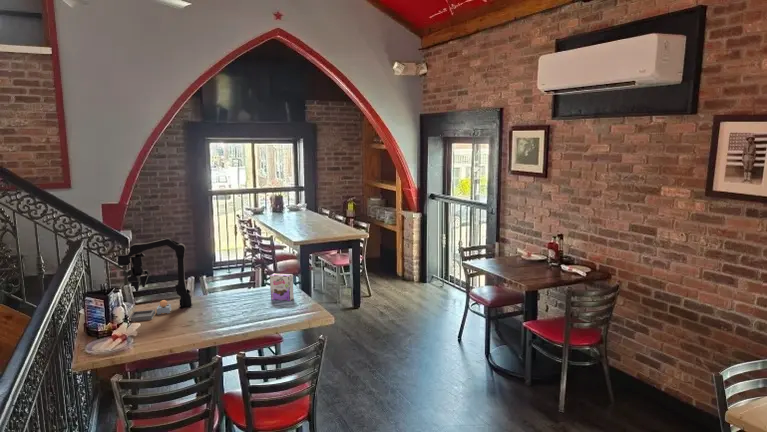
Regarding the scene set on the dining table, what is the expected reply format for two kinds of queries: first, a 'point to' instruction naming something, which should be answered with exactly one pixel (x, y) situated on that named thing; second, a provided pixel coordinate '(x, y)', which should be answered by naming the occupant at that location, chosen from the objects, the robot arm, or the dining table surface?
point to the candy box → (281, 287)
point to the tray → (142, 315)
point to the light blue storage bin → (164, 309)
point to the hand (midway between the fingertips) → (140, 289)
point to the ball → (163, 303)
